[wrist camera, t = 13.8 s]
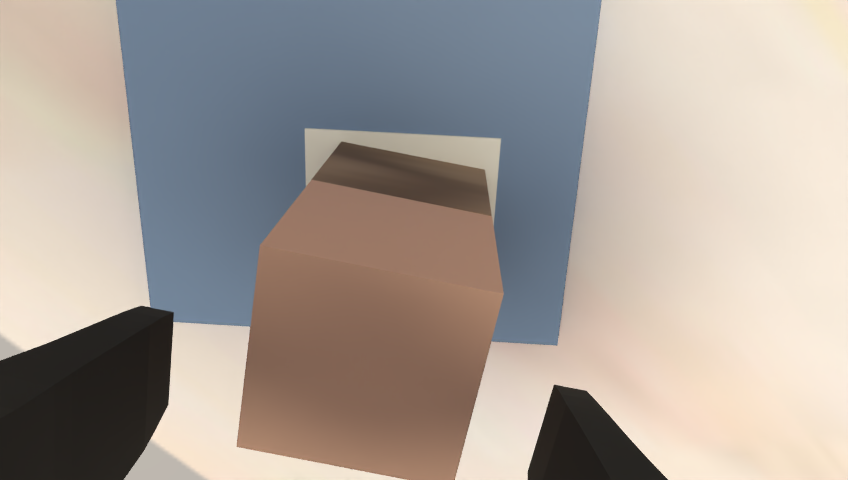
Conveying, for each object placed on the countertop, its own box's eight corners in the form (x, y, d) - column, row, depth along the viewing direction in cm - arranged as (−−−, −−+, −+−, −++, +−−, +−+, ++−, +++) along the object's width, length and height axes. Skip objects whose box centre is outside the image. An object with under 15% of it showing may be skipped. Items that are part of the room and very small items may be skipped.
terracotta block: (311, 179, 16) (259, 244, 12) (492, 216, 16) (503, 294, 12) (289, 339, 18) (236, 446, 14) (454, 371, 18) (452, 488, 14)
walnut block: (322, 273, 22) (289, 339, 18) (341, 141, 20) (310, 179, 16) (455, 298, 22) (454, 370, 18) (484, 169, 20) (491, 215, 16)
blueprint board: (96, -305, 17) (77, -320, 17) (632, -288, 17) (641, -302, 16) (161, 310, 24) (150, 321, 23) (553, 334, 23) (557, 347, 22)
